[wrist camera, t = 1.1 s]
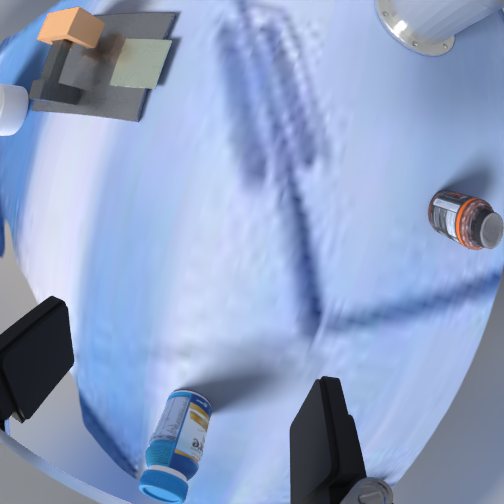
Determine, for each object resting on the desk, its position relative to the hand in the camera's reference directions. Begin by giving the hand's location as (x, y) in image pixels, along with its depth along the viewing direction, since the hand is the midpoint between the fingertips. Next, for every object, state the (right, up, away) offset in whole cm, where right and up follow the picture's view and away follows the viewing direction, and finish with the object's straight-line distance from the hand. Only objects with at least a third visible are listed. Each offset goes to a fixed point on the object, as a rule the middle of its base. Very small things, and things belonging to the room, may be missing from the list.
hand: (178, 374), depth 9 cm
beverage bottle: (-9, -23, +37) cm, 44 cm away
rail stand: (-19, +31, +20) cm, 42 cm away
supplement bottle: (+29, +10, +24) cm, 39 cm away
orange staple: (-21, +34, +16) cm, 43 cm away
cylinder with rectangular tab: (-39, +29, +23) cm, 53 cm away
